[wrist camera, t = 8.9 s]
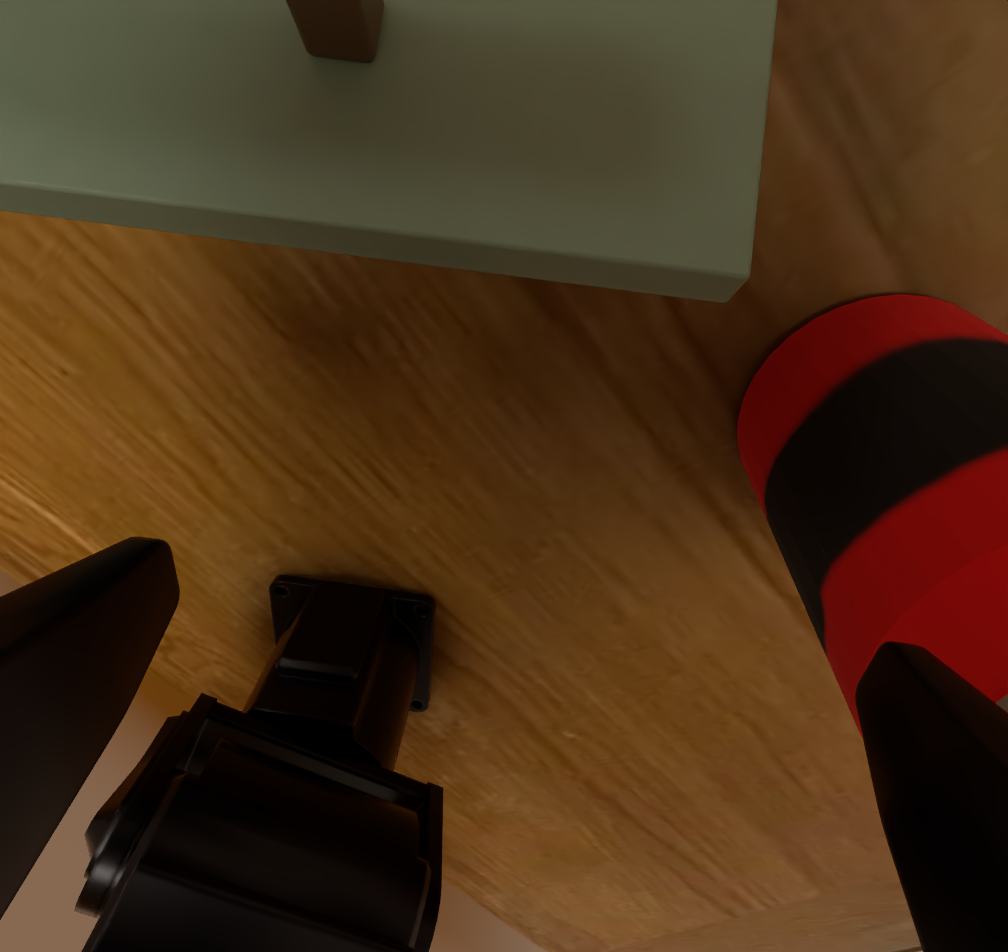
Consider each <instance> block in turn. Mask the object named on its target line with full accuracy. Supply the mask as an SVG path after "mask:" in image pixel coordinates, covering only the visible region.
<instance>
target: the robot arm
mask: <svg viewBox="0 0 1008 952" xmlns="http://www.w3.org/2000/svg"><path fill="white" fill-rule="evenodd" d="M281 587H284V588H286V589H287V590H285V589H283V588H281ZM179 594H180V590H179V584H178V579H177V574H176V569H175V565H174V560H173V555H172V551H171V548H170V546H169V544H168V543H167V542H166V541H163V540H160V539H153V538H146V537H130V538H128V539H125V540H123V541H121V542H119V543H117V544H114V545H112V546H110V547H108V548H106V549H104V550H101V551H99V552H97V553H95V554H93V555H91V556H88V557H86V558H84V559H82V560H80V561H77V562H75V563H73V564H71V565H69V566H67V567H64V568H62V569H60V570H58V571H56V572H53V573H51V574H49V575H47V576H45V577H43V578H40V579H38V580H36V581H34V582H32V583H30V584H27V585H25V586H23V587H21V588H19V589H16V590H14V591H12V592H10V593H8V594H6V595H3V596H1V597H0V920H1V918H2V916H3V914H4V913H5V911H6V910H7V908H8V906H9V905H10V903H11V902H12V900H13V898H14V897H15V895H16V893H17V892H18V890H19V888H20V887H21V885H22V883H23V882H24V880H25V879H26V877H27V875H28V874H29V872H30V870H31V869H32V867H33V866H34V864H35V862H36V861H37V859H38V857H39V856H40V854H41V852H42V851H43V849H44V848H45V846H46V844H47V843H48V841H49V839H50V838H51V836H52V834H53V833H54V831H55V829H56V828H57V826H58V825H59V823H60V821H61V820H62V818H63V816H64V815H65V813H66V812H67V810H68V808H69V807H70V805H71V803H72V802H73V800H74V798H75V797H76V795H77V794H78V792H79V790H80V789H81V787H82V785H83V784H84V782H85V780H86V779H87V777H88V776H89V774H90V772H91V771H92V769H93V767H94V766H95V764H96V762H97V761H98V759H99V757H100V756H101V754H102V753H103V751H104V749H105V748H106V746H107V744H108V743H109V741H110V740H111V738H112V736H113V735H114V733H115V731H116V729H117V728H118V726H119V724H120V723H121V721H122V719H123V717H124V715H125V714H126V712H127V710H128V708H129V706H130V704H131V702H132V700H133V698H134V696H135V694H136V692H137V690H138V688H139V686H140V684H141V682H142V679H143V677H144V675H145V673H146V671H147V669H148V667H149V665H150V663H151V660H152V658H153V656H154V654H155V652H156V650H157V648H158V646H159V644H160V641H161V639H162V637H163V635H164V633H165V631H166V629H167V627H168V625H169V623H170V620H171V618H172V616H173V614H174V612H175V610H176V607H177V605H178V601H179ZM269 594H270V602H271V611H272V620H273V628H274V637H275V646H276V647H275V648H274V650H273V652H272V654H271V656H270V658H269V660H268V662H267V664H266V666H265V668H264V670H263V672H262V674H261V675H260V677H259V679H258V681H257V683H256V685H255V687H254V689H253V691H252V693H251V695H250V697H249V699H248V701H247V702H246V704H245V706H244V708H243V710H242V712H241V711H239V710H236V709H234V708H231V707H229V706H226V705H224V704H221V703H219V702H217V699H216V698H214V697H211V696H209V695H206V694H204V693H201V695H200V696H199V698H198V699H197V701H196V702H195V704H194V705H193V707H192V708H191V710H190V711H189V712H187V711H183V712H182V713H181V715H180V716H174V717H168V718H167V720H166V721H165V723H164V725H163V726H162V728H161V729H160V731H159V733H158V734H157V736H156V737H155V739H154V740H153V742H152V744H151V745H150V747H149V748H148V750H147V751H146V753H145V755H144V756H143V757H142V759H141V760H140V762H139V763H138V764H137V766H136V767H135V768H134V769H133V770H132V772H131V773H130V774H129V775H128V776H127V778H126V779H125V780H124V781H123V782H122V784H121V785H120V786H119V787H118V788H117V790H116V791H115V792H114V793H113V794H112V795H111V797H110V798H109V799H108V801H106V803H105V804H104V805H103V806H102V807H101V809H100V810H99V811H98V812H97V814H96V815H95V817H94V818H93V820H92V821H91V823H90V825H89V827H88V829H87V831H86V833H85V839H86V843H87V847H88V851H89V855H90V859H91V860H90V863H89V865H88V867H87V869H86V872H85V875H84V878H86V879H87V881H86V883H85V885H84V887H83V889H82V892H81V894H80V896H79V898H78V901H77V903H76V906H75V911H76V912H79V913H82V914H85V915H88V916H92V917H94V918H98V921H97V923H96V925H95V927H94V929H93V931H92V933H91V935H90V937H89V938H88V940H87V942H86V944H85V946H84V948H83V950H82V952H429V949H430V945H431V942H432V938H433V935H434V931H435V926H436V922H437V918H438V911H439V906H440V899H441V882H442V826H443V787H440V786H438V785H435V784H433V783H430V782H428V783H427V784H425V783H423V782H420V781H417V780H415V779H412V778H410V777H407V776H405V775H402V774H400V773H397V772H394V768H395V764H396V760H397V756H398V752H399V748H400V744H401V740H402V736H403V732H404V729H405V725H406V721H407V717H408V713H409V711H412V712H423V711H425V710H426V709H427V708H428V705H429V700H430V689H431V673H432V658H433V642H434V627H435V611H436V604H435V601H434V600H433V598H431V597H430V596H427V595H424V594H417V593H410V592H403V591H396V590H388V589H381V588H374V587H367V586H360V585H352V584H345V583H338V582H331V581H324V580H316V579H309V578H302V577H295V576H288V575H279V576H276V577H275V578H274V580H273V581H272V583H271V585H270V587H269ZM418 606H423V607H425V608H426V609H422V608H420V607H418ZM855 702H856V708H857V713H858V718H859V722H860V727H861V732H862V736H863V741H864V745H865V750H866V755H867V759H868V764H869V769H870V773H871V778H872V783H873V787H874V792H875V797H876V801H877V806H878V810H879V814H880V818H881V822H882V825H883V829H884V832H885V835H886V839H887V842H888V845H889V848H890V851H891V854H892V857H893V861H894V864H895V867H896V870H897V873H898V876H899V879H900V882H901V885H902V888H903V891H904V894H905V897H906V900H907V903H908V906H909V910H910V913H911V916H912V919H913V922H914V925H915V928H916V931H917V934H918V937H919V940H920V943H921V946H922V949H923V952H1008V713H1007V712H1006V711H1005V710H1003V709H1002V708H1001V707H1000V706H998V705H997V704H996V703H994V702H993V701H992V700H991V699H989V698H988V697H987V696H986V695H984V694H983V693H982V692H980V691H979V690H978V689H977V688H975V687H974V686H973V685H971V684H970V683H969V682H968V681H966V680H965V679H964V678H962V677H961V676H960V675H959V674H957V673H956V672H955V671H954V670H952V669H951V668H950V667H948V666H947V665H946V664H945V663H943V662H942V661H941V660H939V659H938V658H937V657H936V656H934V655H933V654H932V653H931V652H929V651H928V650H927V649H925V648H924V647H922V646H919V645H915V644H909V643H902V642H894V641H888V642H885V643H883V644H882V645H880V646H879V648H878V649H877V651H876V653H875V654H874V656H873V658H872V660H871V661H870V663H869V665H868V667H867V668H866V670H865V672H864V674H863V675H862V677H861V679H860V681H859V682H858V685H857V688H856V693H855Z"/></svg>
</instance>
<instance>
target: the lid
mask: <svg viewBox="0 0 1008 952" xmlns="http://www.w3.org/2000/svg"><path fill="white" fill-rule="evenodd" d="M777 4H778V0H0V210H2V211H10V212H18V213H26V214H33V215H41V216H49V217H57V218H65V219H72V220H80V221H88V222H96V223H104V224H111V225H119V226H127V227H135V228H142V229H150V230H158V231H166V232H174V233H181V234H189V235H197V236H205V237H213V238H220V239H228V240H236V241H244V242H252V243H259V244H267V245H275V246H283V247H291V248H298V249H306V250H314V251H322V252H330V253H337V254H345V255H353V256H361V257H369V258H376V259H384V260H392V261H400V262H408V263H415V264H423V265H431V266H439V267H447V268H454V269H462V270H470V271H478V272H486V273H493V274H501V275H509V276H517V277H525V278H532V279H540V280H548V281H556V282H564V283H571V284H579V285H587V286H595V287H603V288H610V289H618V290H626V291H634V292H642V293H649V294H657V295H665V296H673V297H681V298H688V299H696V300H704V301H712V302H720V303H726V302H728V301H729V300H730V299H731V297H732V296H733V295H734V294H735V293H736V292H737V291H738V290H739V289H740V287H741V286H742V285H743V284H744V283H745V282H746V281H747V280H748V278H749V277H750V272H751V262H752V252H753V242H754V232H755V222H756V212H757V202H758V192H759V182H760V173H761V163H762V153H763V143H764V133H765V123H766V113H767V103H768V93H769V83H770V74H771V64H772V54H773V44H774V34H775V24H776V14H777Z"/></svg>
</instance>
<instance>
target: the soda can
mask: <svg viewBox="0 0 1008 952" xmlns="http://www.w3.org/2000/svg"><path fill="white" fill-rule="evenodd" d="M737 443H738V448H739V453H740V457H741V461H742V464H743V466H744V468H745V471H746V473H747V475H748V478H749V480H750V482H751V484H752V487H753V489H754V491H755V494H756V496H757V498H758V500H759V503H760V505H761V507H762V510H763V512H764V514H765V516H766V519H767V521H768V523H769V526H770V528H771V530H772V533H773V535H774V537H775V539H776V542H777V544H778V546H779V549H780V551H781V553H782V555H783V558H784V560H785V562H786V565H787V567H788V569H789V571H790V574H791V576H792V578H793V581H794V583H795V585H796V588H797V590H798V592H799V594H800V597H801V599H802V601H803V604H804V606H805V608H806V610H807V613H808V615H809V617H810V620H811V622H812V624H813V627H814V629H815V631H816V633H817V636H818V638H819V640H820V643H821V645H822V647H823V649H824V652H825V654H826V656H827V659H828V661H829V663H830V665H831V668H832V670H833V672H834V675H835V677H836V679H837V682H838V684H839V686H840V688H841V691H842V693H843V695H844V698H845V700H846V702H847V704H848V707H849V709H850V711H851V714H852V716H853V718H854V720H855V723H856V725H857V727H858V730H859V732H860V734H861V736H862V732H861V727H860V722H859V718H858V713H857V708H856V702H855V693H856V688H857V685H858V682H859V681H860V679H861V677H862V675H863V674H864V672H865V670H866V668H867V667H868V665H869V663H870V661H871V660H872V658H873V656H874V654H875V653H876V651H877V649H878V648H879V646H880V645H882V644H883V643H885V642H888V641H894V642H902V643H909V644H915V645H919V646H922V647H924V648H925V649H927V650H928V651H929V652H931V653H932V654H933V655H934V656H936V657H937V658H938V659H939V660H941V661H942V662H943V663H945V664H946V665H947V666H948V667H950V668H951V669H952V670H954V671H955V672H956V673H957V674H959V675H960V676H961V677H962V678H964V679H965V680H966V681H968V682H969V683H970V684H971V685H973V686H974V687H975V688H977V689H978V690H979V691H980V692H982V693H983V694H984V695H986V696H987V697H988V698H989V699H991V700H992V701H993V702H994V703H996V704H997V705H998V706H1000V707H1001V708H1002V709H1003V710H1005V711H1006V712H1007V713H1008V335H1006V334H1004V333H1003V332H1001V331H999V330H998V329H996V328H994V327H993V326H991V325H989V324H988V323H986V322H984V321H983V320H981V319H979V318H978V317H976V316H974V315H973V314H971V313H969V312H967V311H965V310H964V309H962V308H960V307H958V306H956V305H954V304H953V303H950V302H946V301H942V300H939V299H935V298H932V297H928V296H917V295H902V294H897V295H888V296H880V297H871V298H867V299H864V300H860V301H857V302H853V303H850V304H847V305H843V306H840V307H838V308H836V309H834V310H832V311H830V312H828V313H826V314H824V315H821V316H819V317H817V318H815V319H813V320H812V321H810V322H809V323H808V324H806V325H805V326H803V327H802V328H800V329H799V330H797V331H796V332H795V333H793V334H792V335H790V336H789V337H788V338H787V339H786V340H785V341H784V342H783V343H782V344H781V345H780V346H779V347H778V348H777V349H775V350H774V351H773V352H772V353H771V354H770V355H769V357H768V358H767V359H766V361H765V362H764V363H763V365H762V366H761V368H760V369H759V370H758V372H757V373H756V374H755V376H754V377H753V379H752V381H751V384H750V386H749V388H748V390H747V392H746V394H745V396H744V398H743V402H742V405H741V409H740V413H739V417H738V428H737ZM862 738H863V736H862Z"/></svg>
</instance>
